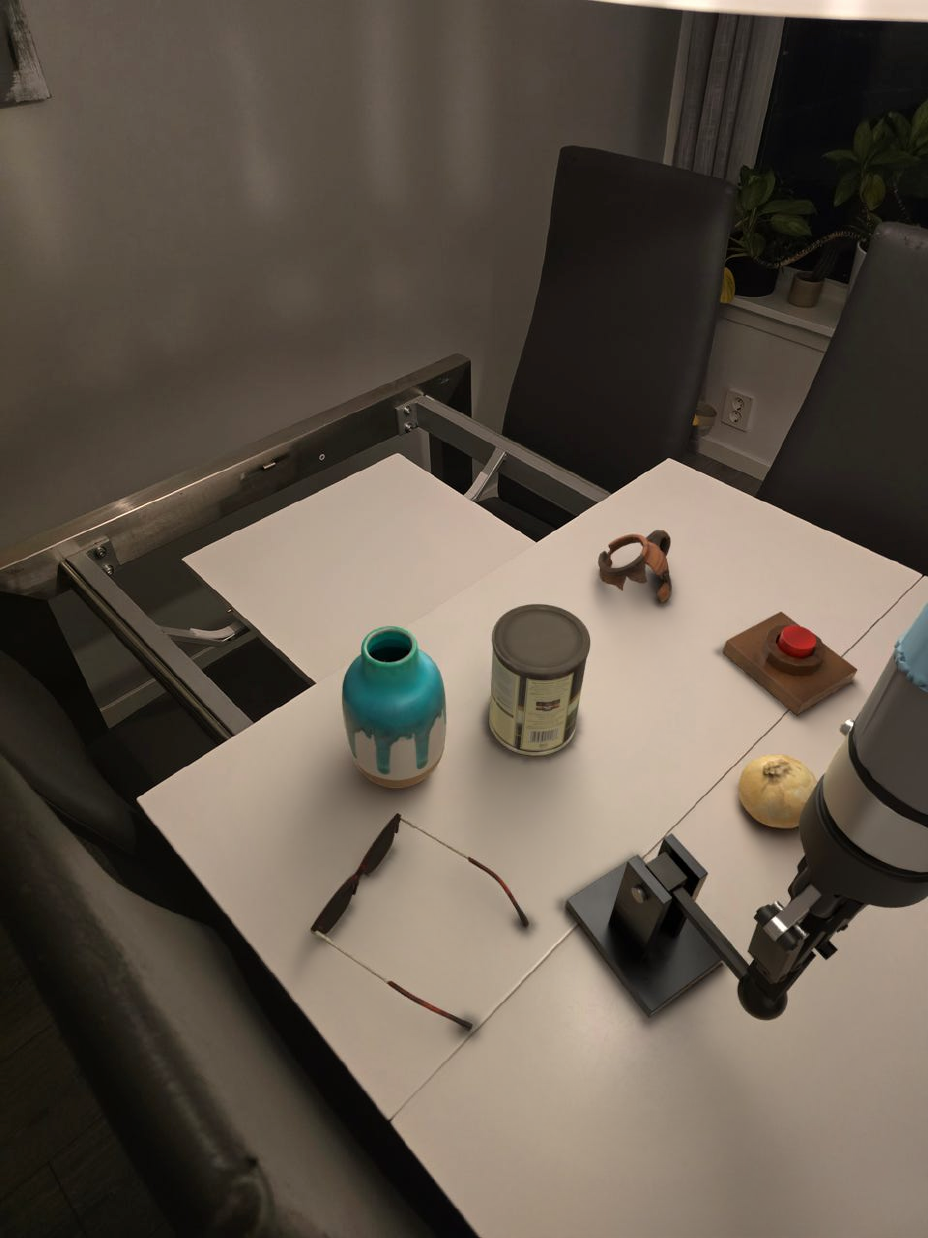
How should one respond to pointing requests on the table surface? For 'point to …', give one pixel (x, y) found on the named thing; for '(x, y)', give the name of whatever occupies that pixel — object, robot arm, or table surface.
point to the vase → (394, 709)
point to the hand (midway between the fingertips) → (766, 980)
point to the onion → (776, 790)
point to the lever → (716, 941)
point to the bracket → (646, 928)
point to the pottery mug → (639, 561)
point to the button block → (788, 665)
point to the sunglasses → (368, 866)
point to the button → (796, 641)
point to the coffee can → (537, 678)
